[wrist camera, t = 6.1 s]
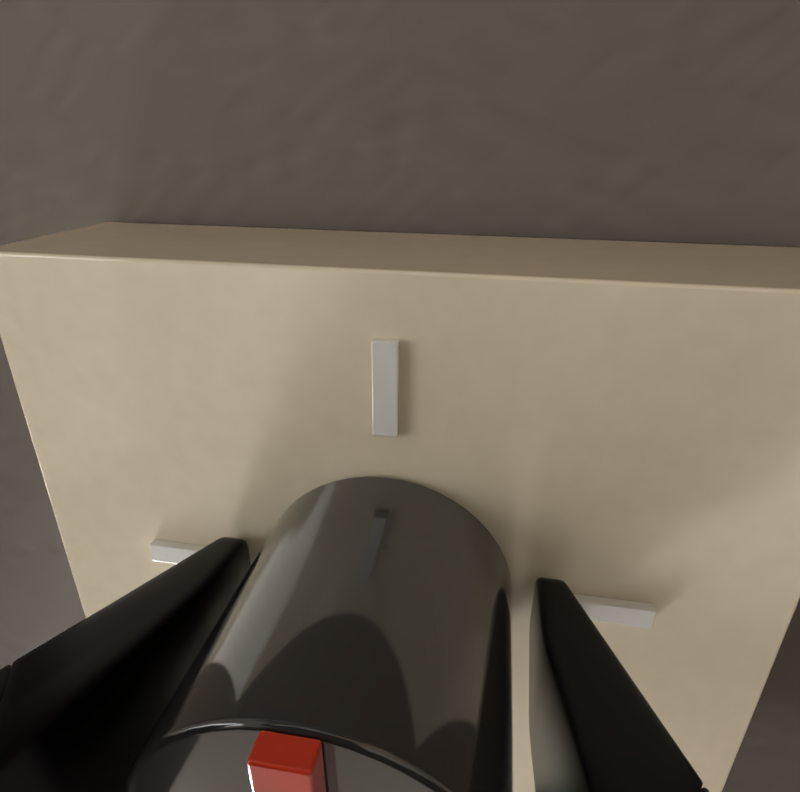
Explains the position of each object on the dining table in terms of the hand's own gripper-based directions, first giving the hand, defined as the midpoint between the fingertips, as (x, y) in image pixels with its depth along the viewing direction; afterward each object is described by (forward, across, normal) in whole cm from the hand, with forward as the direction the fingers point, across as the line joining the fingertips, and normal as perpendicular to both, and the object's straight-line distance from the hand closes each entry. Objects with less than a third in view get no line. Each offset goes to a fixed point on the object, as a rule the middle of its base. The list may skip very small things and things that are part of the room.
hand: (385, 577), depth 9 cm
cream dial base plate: (+3, 0, 0) cm, 3 cm away
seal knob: (0, 0, 0) cm, 0 cm away
